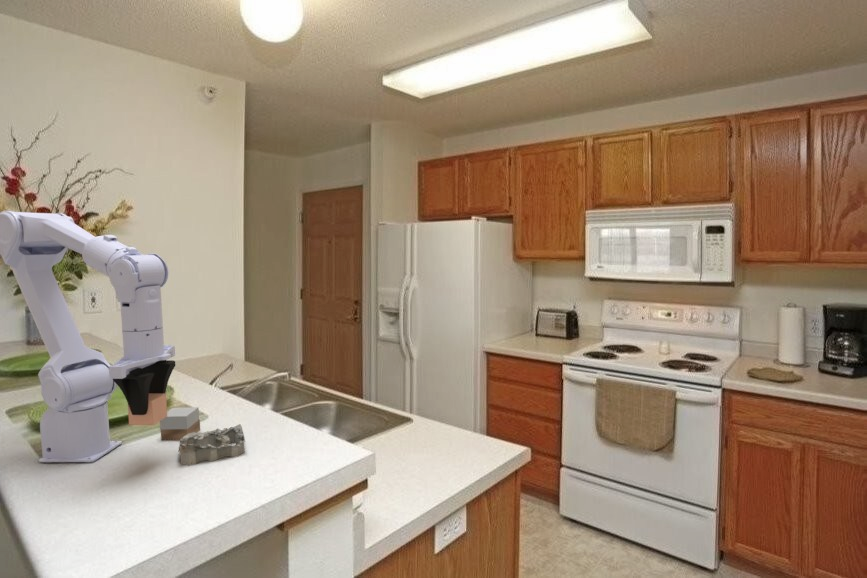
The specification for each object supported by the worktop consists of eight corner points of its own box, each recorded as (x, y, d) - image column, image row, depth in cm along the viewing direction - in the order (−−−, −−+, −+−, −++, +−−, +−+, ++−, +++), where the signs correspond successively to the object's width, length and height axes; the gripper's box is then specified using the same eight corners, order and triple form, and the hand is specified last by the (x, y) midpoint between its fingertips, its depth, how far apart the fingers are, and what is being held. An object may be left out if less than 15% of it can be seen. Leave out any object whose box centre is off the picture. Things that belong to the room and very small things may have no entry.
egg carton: (178, 469, 81) (176, 445, 81) (180, 451, 88) (179, 430, 88) (246, 457, 86) (245, 434, 85) (243, 441, 92) (242, 420, 92)
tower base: (161, 442, 93) (160, 429, 92) (175, 431, 98) (174, 419, 97) (187, 441, 93) (186, 429, 92) (200, 431, 98) (199, 419, 97)
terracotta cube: (129, 425, 79) (127, 401, 79) (144, 416, 83) (142, 393, 83) (153, 425, 79) (152, 401, 79) (167, 416, 83) (166, 393, 83)
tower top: (160, 429, 92) (159, 416, 92) (173, 419, 97) (173, 407, 97) (187, 429, 92) (186, 416, 92) (199, 419, 97) (198, 407, 97)
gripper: (139, 337, 72) (145, 425, 74) (190, 321, 87) (194, 395, 88) (92, 337, 72) (99, 425, 74) (150, 321, 87) (155, 395, 88)
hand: (148, 409), depth 81 cm, fingers closed on terracotta cube, 4 cm apart
